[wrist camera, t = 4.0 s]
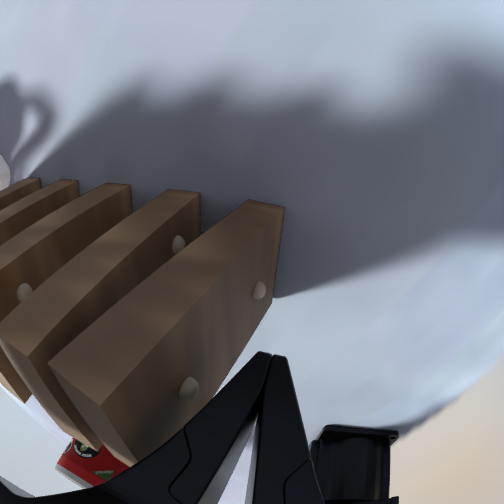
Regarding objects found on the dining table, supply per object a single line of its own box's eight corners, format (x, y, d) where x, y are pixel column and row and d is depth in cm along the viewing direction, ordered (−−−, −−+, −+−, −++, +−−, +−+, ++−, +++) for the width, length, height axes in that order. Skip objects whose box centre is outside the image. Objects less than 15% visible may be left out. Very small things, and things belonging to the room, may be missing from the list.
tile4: (82, 180, 14) (-68, 275, 6) (94, 258, 17) (-17, 367, 8) (60, 179, 15) (-78, 264, 6) (74, 252, 17) (-34, 350, 9)
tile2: (207, 193, 13) (37, 363, 5) (207, 286, 16) (106, 456, 7) (168, 189, 13) (-9, 330, 5) (173, 278, 16) (62, 430, 7)
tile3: (135, 185, 14) (-36, 307, 5) (144, 271, 16) (30, 408, 8) (106, 182, 14) (-55, 288, 5) (117, 264, 16) (3, 385, 8)
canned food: (149, 404, 25) (99, 496, 15) (170, 439, 29) (134, 515, 19) (91, 382, 26) (39, 457, 17) (116, 420, 30) (78, 485, 21)
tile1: (292, 209, 12) (114, 415, 4) (278, 305, 15) (164, 487, 7) (248, 199, 13) (47, 362, 5) (242, 293, 15) (113, 456, 7)
